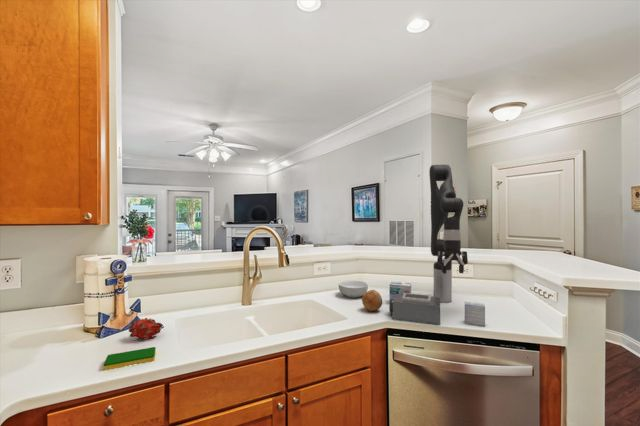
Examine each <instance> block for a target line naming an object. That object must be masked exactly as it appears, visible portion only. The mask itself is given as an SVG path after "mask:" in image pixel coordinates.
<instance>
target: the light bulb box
mask: <svg viewBox="0 0 640 426" xmlns="http://www.w3.org/2000/svg"><path fill="white" fill-rule="evenodd" d="M404 293H411V294H412V283H411V282H402V281H401V282H400V281H393V280H392V281H391V282H390V283H389V295H388V296H389V301H388V302H389V304H390V299H394V297H395V295H396V294H404Z"/></svg>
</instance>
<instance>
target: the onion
mask: <svg viewBox="0 0 640 426" xmlns="http://www.w3.org/2000/svg"><path fill="white" fill-rule="evenodd" d="M361 297H362V298H361V301H362V306H363V307H364V308H365V309H366V310H367V311H369V312H375V311H378V310H379V309H380V308H381V307H382V305H383V298H382V296H381V294H380V293H379V291H377V290H375V289H370V290H367V292H366V293H365V294H364V295H362V296H361Z"/></svg>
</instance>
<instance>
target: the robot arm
mask: <svg viewBox="0 0 640 426" xmlns="http://www.w3.org/2000/svg"><path fill="white" fill-rule="evenodd" d="M428 172H429V185H430V186H429V187H430V188H429V189H430V221H431V222H430V223H431V225H430V226H431V230H430V232H431V233H430V252H431V255H432V256H434V257H437V260H436V261H435V262H434V263H433V297H439V298H440V303H451V302H452V298H453V295H452V291H453V290H452V288H453V287H452V286H453V285H452V284H453V282H452V281H453V280H452V279H453V277H452V276H453V264H452V263H453V262H454V261H456V262H457V263H458V272H459V274H464V272H465V265H467V264H469V261H468V251H464V250H463V251H461V249H462V247H461V246H462V242H461V241H462V239H461V237H462V235H461V229H460V228H461V227H460V226H461V225H460V222H461V217H462V213H463V209H464V201H463V199H462V198H461V197H460V198H459V197H457V195H456V191H455V188H454V183H453V174H452V168H451V166H450V165H449V164H431V165H430V167H429V171H428ZM437 182H442V183H441V184H440V186H438V183H437ZM449 213H454V215H453V216H449ZM442 227H443V239H441V238H439V239H438V237H439V236H438V235H439V232H440V231H441V228H442Z"/></svg>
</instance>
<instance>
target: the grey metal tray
mask: <svg viewBox="0 0 640 426" xmlns="http://www.w3.org/2000/svg"><path fill="white" fill-rule="evenodd" d="M388 306H389V308H388V309H389V313H392V320H394V319H395V321H396V320H397V321H403V322H404V321H405V322H411V323H412V322H413V323H420V324H427V325H428V324H430V325H436V326H437V325H439V326H441V302H440V298H439V297H434V296H431V294H421V293H412V292H411V293H404V294H396V295H395V297H394V299H390V304H389V305H388Z"/></svg>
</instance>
